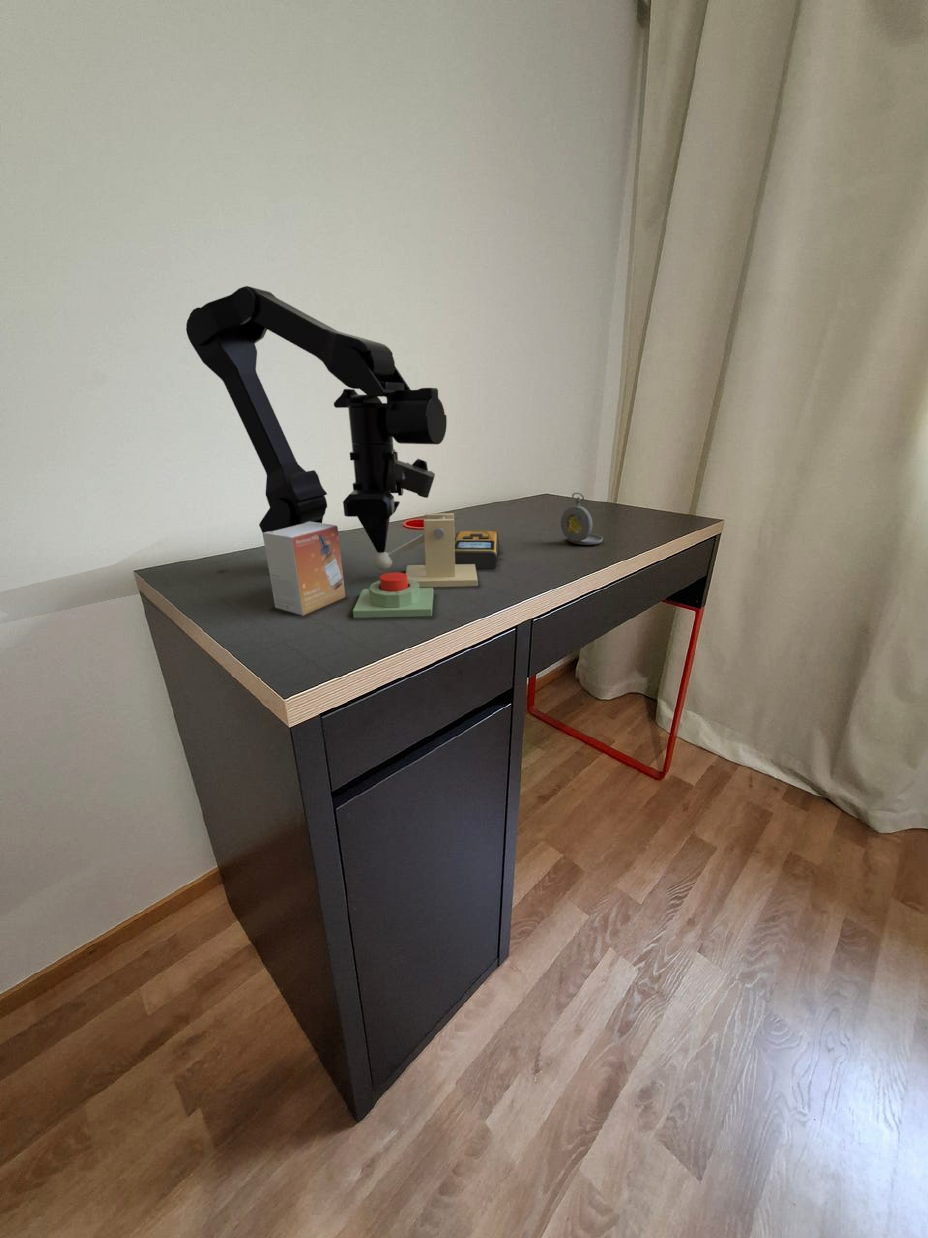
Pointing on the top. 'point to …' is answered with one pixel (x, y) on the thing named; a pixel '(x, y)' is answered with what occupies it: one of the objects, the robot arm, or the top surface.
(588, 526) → the pocket watch
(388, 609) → the button block
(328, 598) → the small box
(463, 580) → the bracket
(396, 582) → the button
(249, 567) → the top surface
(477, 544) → the electronic device
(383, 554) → the lever
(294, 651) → the top surface
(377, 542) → the robot arm
